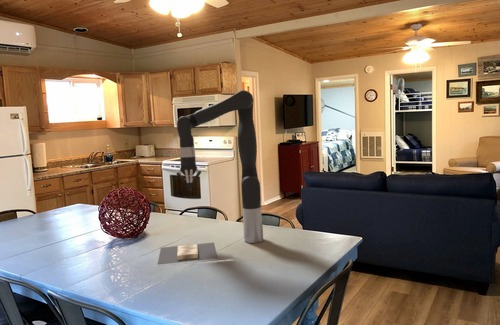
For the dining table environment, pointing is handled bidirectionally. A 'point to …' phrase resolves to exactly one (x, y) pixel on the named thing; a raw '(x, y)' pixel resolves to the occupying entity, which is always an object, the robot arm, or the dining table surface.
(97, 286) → the dining table surface
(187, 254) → the birch tile
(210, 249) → the rubber mat
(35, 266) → the dining table surface
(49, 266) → the dining table surface
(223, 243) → the dining table surface
